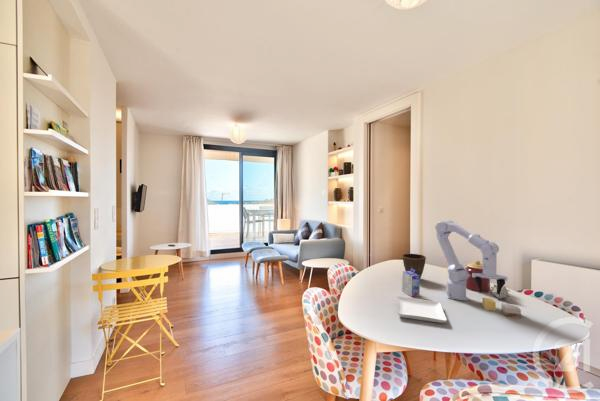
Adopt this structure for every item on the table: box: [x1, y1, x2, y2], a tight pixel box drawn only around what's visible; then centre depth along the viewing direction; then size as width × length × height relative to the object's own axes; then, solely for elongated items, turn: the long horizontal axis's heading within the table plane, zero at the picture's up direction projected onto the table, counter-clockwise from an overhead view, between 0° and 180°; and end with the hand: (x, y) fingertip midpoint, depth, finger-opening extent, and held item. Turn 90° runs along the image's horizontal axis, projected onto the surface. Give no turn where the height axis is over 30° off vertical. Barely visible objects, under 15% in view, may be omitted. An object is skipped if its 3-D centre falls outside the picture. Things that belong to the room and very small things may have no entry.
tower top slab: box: [500, 302, 522, 316], centre depth 126 cm, size 6×6×2 cm
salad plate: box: [396, 296, 448, 324], centre depth 128 cm, size 21×21×3 cm
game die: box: [489, 284, 510, 301], centre depth 145 cm, size 9×8×10 cm
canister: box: [464, 260, 491, 293], centre depth 160 cm, size 13×13×18 cm
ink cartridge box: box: [401, 268, 421, 298], centre depth 153 cm, size 10×6×14 cm, turn 12°
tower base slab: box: [501, 308, 522, 319], centre depth 126 cm, size 6×6×2 cm
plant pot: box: [401, 253, 427, 279], centre depth 179 cm, size 15×15×16 cm
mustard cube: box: [482, 297, 497, 312], centre depth 133 cm, size 4×4×4 cm
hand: (489, 292), depth 133 cm, fingers open, 7 cm apart
